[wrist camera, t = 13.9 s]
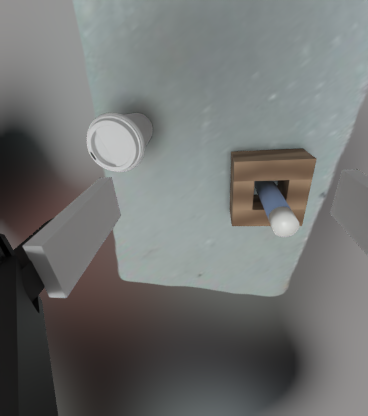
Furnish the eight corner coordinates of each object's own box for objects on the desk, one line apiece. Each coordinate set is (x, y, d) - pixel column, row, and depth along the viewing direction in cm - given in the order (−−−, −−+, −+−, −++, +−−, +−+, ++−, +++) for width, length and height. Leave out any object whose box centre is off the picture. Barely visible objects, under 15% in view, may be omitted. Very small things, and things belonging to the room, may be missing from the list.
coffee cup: (112, 105, 46) (73, 115, 33) (157, 103, 45) (136, 113, 32) (120, 151, 51) (89, 176, 38) (162, 151, 50) (144, 175, 37)
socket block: (231, 151, 49) (234, 161, 42) (302, 148, 47) (316, 158, 41) (229, 210, 56) (232, 226, 50) (291, 209, 54) (301, 225, 48)
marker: (254, 174, 50) (274, 216, 35) (273, 173, 50) (301, 216, 34) (253, 190, 52) (271, 237, 37) (271, 190, 52) (297, 237, 36)
